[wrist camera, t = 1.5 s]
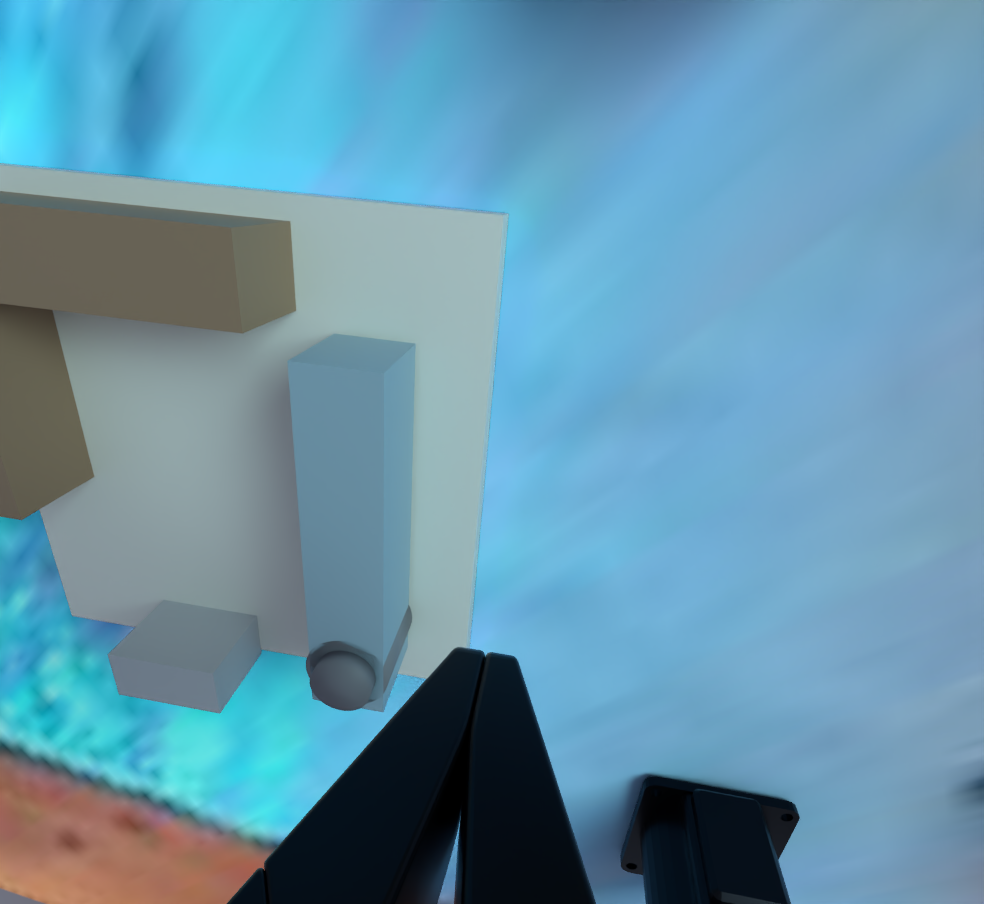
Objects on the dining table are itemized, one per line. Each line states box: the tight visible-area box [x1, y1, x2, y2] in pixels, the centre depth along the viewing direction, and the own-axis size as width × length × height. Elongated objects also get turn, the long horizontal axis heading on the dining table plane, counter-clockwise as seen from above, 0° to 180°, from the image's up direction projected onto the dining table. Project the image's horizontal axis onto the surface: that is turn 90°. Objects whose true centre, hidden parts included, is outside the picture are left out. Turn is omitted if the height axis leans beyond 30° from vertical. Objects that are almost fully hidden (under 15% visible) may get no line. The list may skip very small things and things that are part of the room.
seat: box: [0, 163, 509, 713], centre depth 19 cm, size 18×17×4 cm
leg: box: [287, 334, 416, 712], centre depth 18 cm, size 12×3×4 cm, turn 175°
